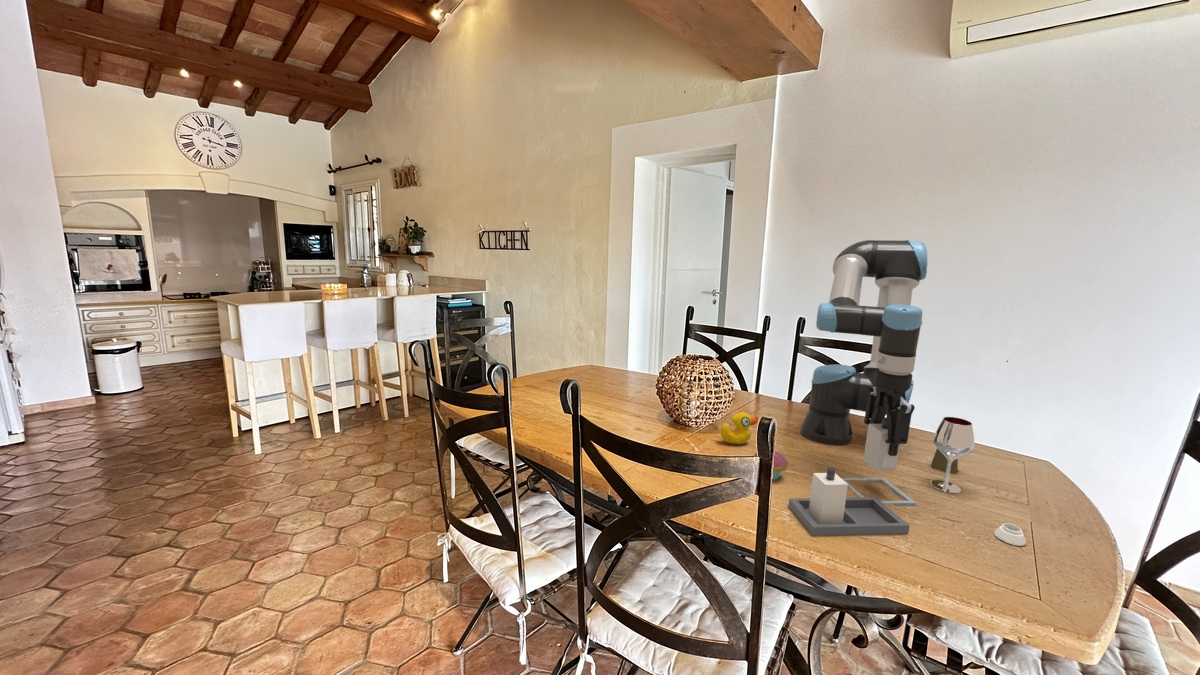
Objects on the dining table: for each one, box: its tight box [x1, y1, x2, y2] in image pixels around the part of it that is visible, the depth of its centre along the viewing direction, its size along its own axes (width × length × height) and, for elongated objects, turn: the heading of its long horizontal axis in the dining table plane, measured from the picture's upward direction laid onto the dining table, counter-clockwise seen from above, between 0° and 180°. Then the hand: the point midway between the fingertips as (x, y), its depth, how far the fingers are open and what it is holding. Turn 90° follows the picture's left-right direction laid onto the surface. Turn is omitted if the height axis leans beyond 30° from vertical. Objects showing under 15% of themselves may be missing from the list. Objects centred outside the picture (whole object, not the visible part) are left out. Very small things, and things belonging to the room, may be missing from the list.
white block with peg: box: [863, 416, 901, 471], centre depth 113 cm, size 5×5×12 cm
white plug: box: [808, 466, 849, 524], centre depth 101 cm, size 5×5×12 cm
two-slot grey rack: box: [788, 496, 910, 537], centre depth 102 cm, size 11×21×2 cm, turn 93°
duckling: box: [720, 411, 759, 445], centre depth 141 cm, size 11×5×10 cm, turn 93°
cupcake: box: [753, 450, 788, 481], centre depth 120 cm, size 9×8×12 cm
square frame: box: [840, 477, 917, 506], centre depth 115 cm, size 12×12×1 cm
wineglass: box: [929, 416, 976, 494], centre depth 116 cm, size 8×8×18 cm
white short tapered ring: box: [994, 522, 1027, 547], centre depth 97 cm, size 5×3×5 cm
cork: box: [930, 447, 959, 474], centre depth 127 cm, size 6×6×11 cm
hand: (879, 460), depth 114 cm, fingers closed on white block with peg, 5 cm apart
